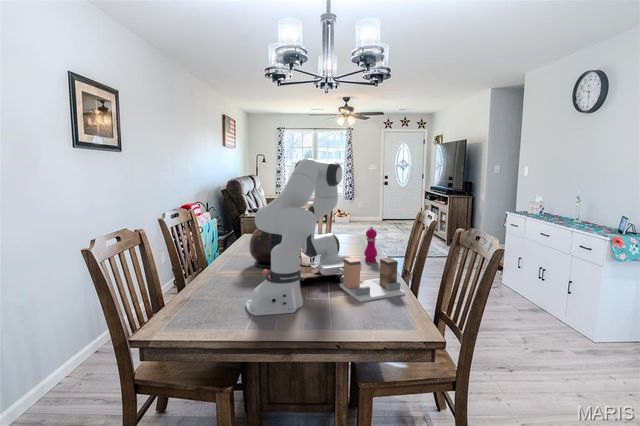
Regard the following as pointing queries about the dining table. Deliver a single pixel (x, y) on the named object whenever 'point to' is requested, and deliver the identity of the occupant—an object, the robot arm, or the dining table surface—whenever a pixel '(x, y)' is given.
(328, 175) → the robot arm
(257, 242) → the amphora vase
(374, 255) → the pepper mill
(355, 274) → the terracotta plug
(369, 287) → the plate
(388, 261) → the walnut plug
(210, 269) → the dining table surface
